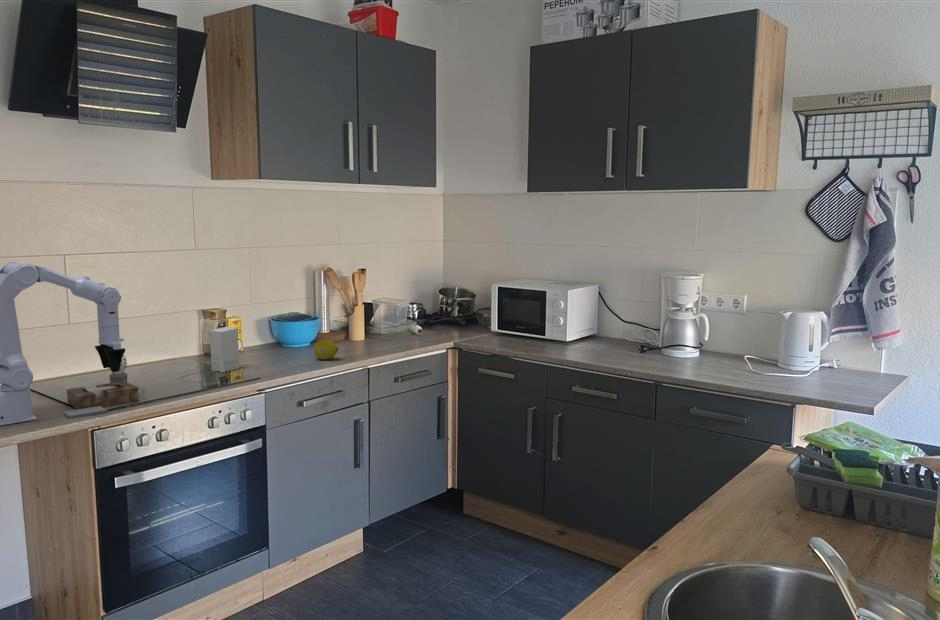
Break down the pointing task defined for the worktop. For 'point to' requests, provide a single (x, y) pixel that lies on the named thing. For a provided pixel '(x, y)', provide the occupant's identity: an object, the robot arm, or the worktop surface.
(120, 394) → the pocket board
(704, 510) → the worktop surface
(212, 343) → the skincare box
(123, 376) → the light bulb
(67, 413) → the slate mat
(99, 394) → the aluminium tile
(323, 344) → the lemon
